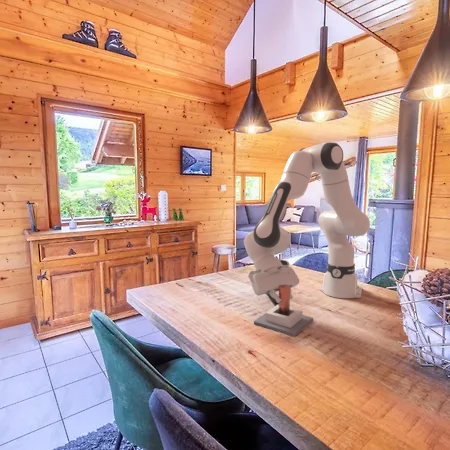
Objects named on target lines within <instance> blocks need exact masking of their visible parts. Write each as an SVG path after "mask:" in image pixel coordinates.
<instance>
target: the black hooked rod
mask: <svg viewBox="0 0 450 450" xmlns="http://www.w3.org/2000/svg"><path fill="white" fill-rule="evenodd" d="M266 295H267V297H268V299H269V300H270V301H271V303H273V305H274V307H275V306H276V305H279V303H277V302H276V300H275V299H274V298H273V297H271V296H270V294H269V293H267V294H266Z"/></svg>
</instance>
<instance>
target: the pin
mask: <svg viewBox="0 0 450 450" xmlns="http://www.w3.org/2000/svg"><path fill="white" fill-rule="evenodd" d="M278 296H281V298H282V301H281V302H280V303H279V312H278V314H281V315H285V316H289V315H290V308H291V300H290V286H289V285H279V291H278Z"/></svg>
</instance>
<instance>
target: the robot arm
mask: <svg viewBox="0 0 450 450" xmlns="http://www.w3.org/2000/svg"><path fill="white" fill-rule="evenodd" d="M347 171H348V170H347V168H346V165H345V162H344V150H343V148H342V147H341V146H340V145H339V144H338V143H337V142H331V141H330V142H326V143H317V144H314V145H312V146H309V147H303V148H301V149H299V150H296V151H293V152H292V153H291V154H290V156H289V157H288V159H287V161H286V163H285V165H284V168H283V171H282V173H281V177H280V180H279V182H278V184H276V186H275V188H274V189H273V191H272V194H271V196H270V198H269V201H268V202H267V205H266V208H265V209H264V213H263V214H262V216H261V218H260V219H259V220H258V222H257V223H256V225H255V227H254V228H253V230H251V231H250V232H249V233H247V234H246V236H245V237H244V239H243V244H244V247H245V251H246V253H247V255H248V257H249V258H250V260H251V261H252V264H253V266H254V270H252V271H250V272H248V276H247V277H248V279H249V281H250V284H251V287H252V289H253V292H254V294H255V295H257V296H258V297H259V296H262V295H267V293H269V294H270V296H271V297H273V298H274V299H275V300H276V302H277V303H280V302H281V301H282V298H281V296H279V294H277V292H279V285H289V286H290V301H291V300H292V299H294V296H293V294H292V288H295V287H297V286H298V285H299V284H300V279H299V276H298V275H297V273H296V271H295V270H294V269H293V268H292V267H291V266H290V265H291V264H290V261H288V260H283V259H280V258H276V256H275V255H279V254H280V253H283V252H284V251H286V250H287V249H288V248H289V247H290V245H291V243H292V237H291V235H290V233H289V232H288V231H287V230H286V229H284V228H283V227H281V225H280V219H281V217H282V215H283V213H284V209H285V207H286V205H287V203H288V202H289V201H290V200H298V199H300V198H301V197H303V196H304V195H305V192H306V191H307V189H308V185H309V182H310V179H311V175H312V173H317V172H319V173H320V178H321V184H322V185H321V186H322V190H323V195H324V200H325V202H326V203H327V204H329V206H331V207H332V209H330V210H324V211H322V212H321V213H320V214H319V216H318V220H317V222H318V227H320V229H321V230H322V231H323V234H324V235H325V239H326V242H327V248H328V249H327V250H328V258H327V259H328V261H327V263H326V272H324V273H323V280H322V286H320V287H319V291H320V292H323V293H324V294H325V295H326V296H329V297H332V298H336V299H337V298H338V299H354V298H355V299H361V298H362V292H363V287H362V286H360V285H358V276H357V275H356V271H355V270H356V263H354V262H355V248H354V246H353V245H352V243H350V241H349V239H348V236H349V237H359V236H364V235H366V234H367V233H368V231H369V229H370V227H371V221H370V218H369V217H368V216H367V214H365V213H364V212H363V211H362V210H361V209H360V208H359V207H358V204H357V203H356V202H355V200H354V197H353V195H352V190H351V187H350V181H349V175H348V172H347Z"/></svg>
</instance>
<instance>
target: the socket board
mask: <svg viewBox="0 0 450 450" xmlns="http://www.w3.org/2000/svg"><path fill="white" fill-rule="evenodd" d="M278 312H279V305H276V306H275V305H274V306H273V307H272V308H270V309H268V310H267V311H266V312H264V314H263V315H261V316H260V317H258V318H257V319H255V320H253V324H254V325H256V326H259V327H263V328H266V329H269V330H272V331H276V332H279V333H282V334H285V335H289V336H293V337H296V336H297V335H299V333H300V332H302V331H303V330H304V329H305V328H307V326H309V325H310V324H311V323H312V322H313V321H314V316H313V317H312V316H308V315H303V310H302V309H298V308H294V307H290V315H289V316H285V315H281V314H278Z"/></svg>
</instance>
